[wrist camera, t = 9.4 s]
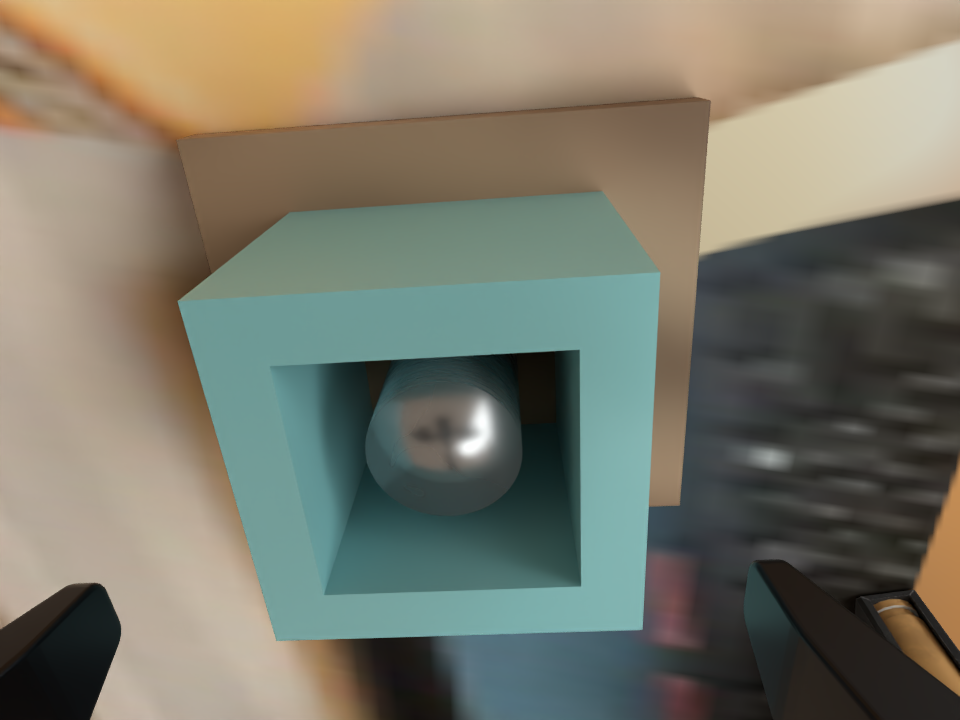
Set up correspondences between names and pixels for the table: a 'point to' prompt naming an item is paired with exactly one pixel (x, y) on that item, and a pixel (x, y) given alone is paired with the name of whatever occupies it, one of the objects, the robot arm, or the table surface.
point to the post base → (472, 176)
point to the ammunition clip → (913, 632)
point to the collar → (428, 334)
